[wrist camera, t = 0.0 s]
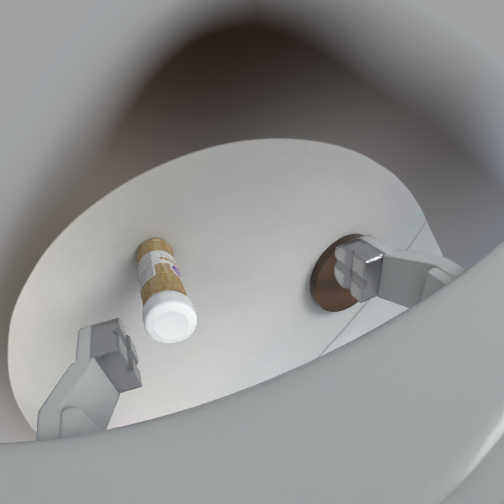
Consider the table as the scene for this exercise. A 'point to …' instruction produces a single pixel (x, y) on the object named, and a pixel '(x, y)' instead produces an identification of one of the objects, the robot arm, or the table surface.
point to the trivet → (331, 281)
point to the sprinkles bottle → (163, 294)
